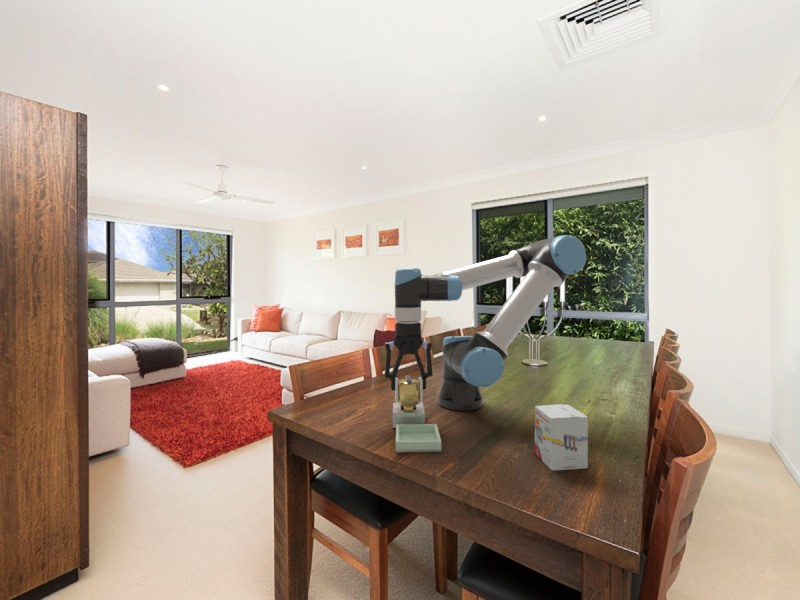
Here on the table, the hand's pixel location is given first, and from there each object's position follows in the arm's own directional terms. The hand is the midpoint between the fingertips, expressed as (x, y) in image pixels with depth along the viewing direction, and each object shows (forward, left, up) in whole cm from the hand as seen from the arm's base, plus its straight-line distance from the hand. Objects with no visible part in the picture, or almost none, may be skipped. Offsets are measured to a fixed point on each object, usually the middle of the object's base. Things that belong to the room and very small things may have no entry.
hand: (408, 400), depth 105 cm
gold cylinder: (0, 0, -6) cm, 6 cm away
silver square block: (0, 0, -7) cm, 7 cm away
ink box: (-34, +23, -7) cm, 42 cm away
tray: (-2, +13, -7) cm, 15 cm away
